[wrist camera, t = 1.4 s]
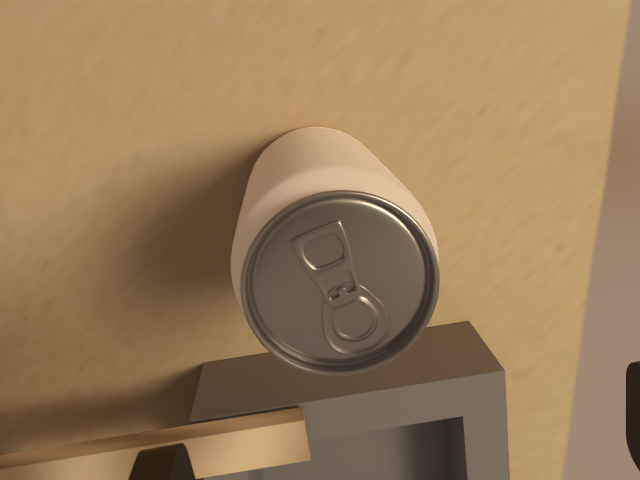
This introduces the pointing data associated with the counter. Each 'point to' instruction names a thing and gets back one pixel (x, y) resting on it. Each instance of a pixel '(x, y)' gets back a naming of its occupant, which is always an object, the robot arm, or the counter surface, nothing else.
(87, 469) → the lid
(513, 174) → the counter surface
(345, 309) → the can
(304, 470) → the housing
